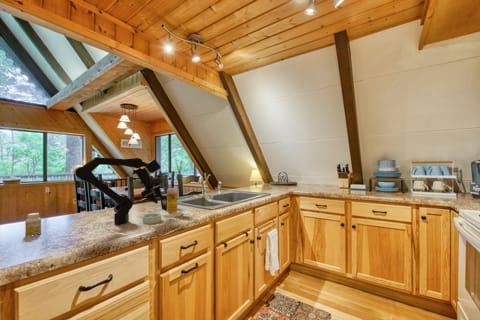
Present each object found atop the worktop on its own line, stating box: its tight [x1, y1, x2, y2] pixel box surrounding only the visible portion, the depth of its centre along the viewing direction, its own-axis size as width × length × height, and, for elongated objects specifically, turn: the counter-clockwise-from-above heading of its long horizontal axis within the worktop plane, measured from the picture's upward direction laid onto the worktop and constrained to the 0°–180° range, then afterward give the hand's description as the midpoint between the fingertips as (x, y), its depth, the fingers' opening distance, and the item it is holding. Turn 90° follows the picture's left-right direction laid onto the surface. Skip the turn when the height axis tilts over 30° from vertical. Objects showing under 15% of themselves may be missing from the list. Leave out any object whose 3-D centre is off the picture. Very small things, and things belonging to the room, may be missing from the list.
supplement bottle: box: [24, 212, 42, 237], centre depth 102 cm, size 5×5×10 cm
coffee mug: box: [159, 193, 167, 211], centre depth 156 cm, size 12×9×10 cm
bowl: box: [141, 212, 162, 225], centre depth 121 cm, size 9×9×4 cm
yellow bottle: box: [166, 187, 178, 213], centre depth 136 cm, size 6×6×15 cm
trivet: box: [161, 209, 183, 218], centre depth 136 cm, size 12×12×2 cm
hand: (159, 200), depth 128 cm, fingers open, 9 cm apart
